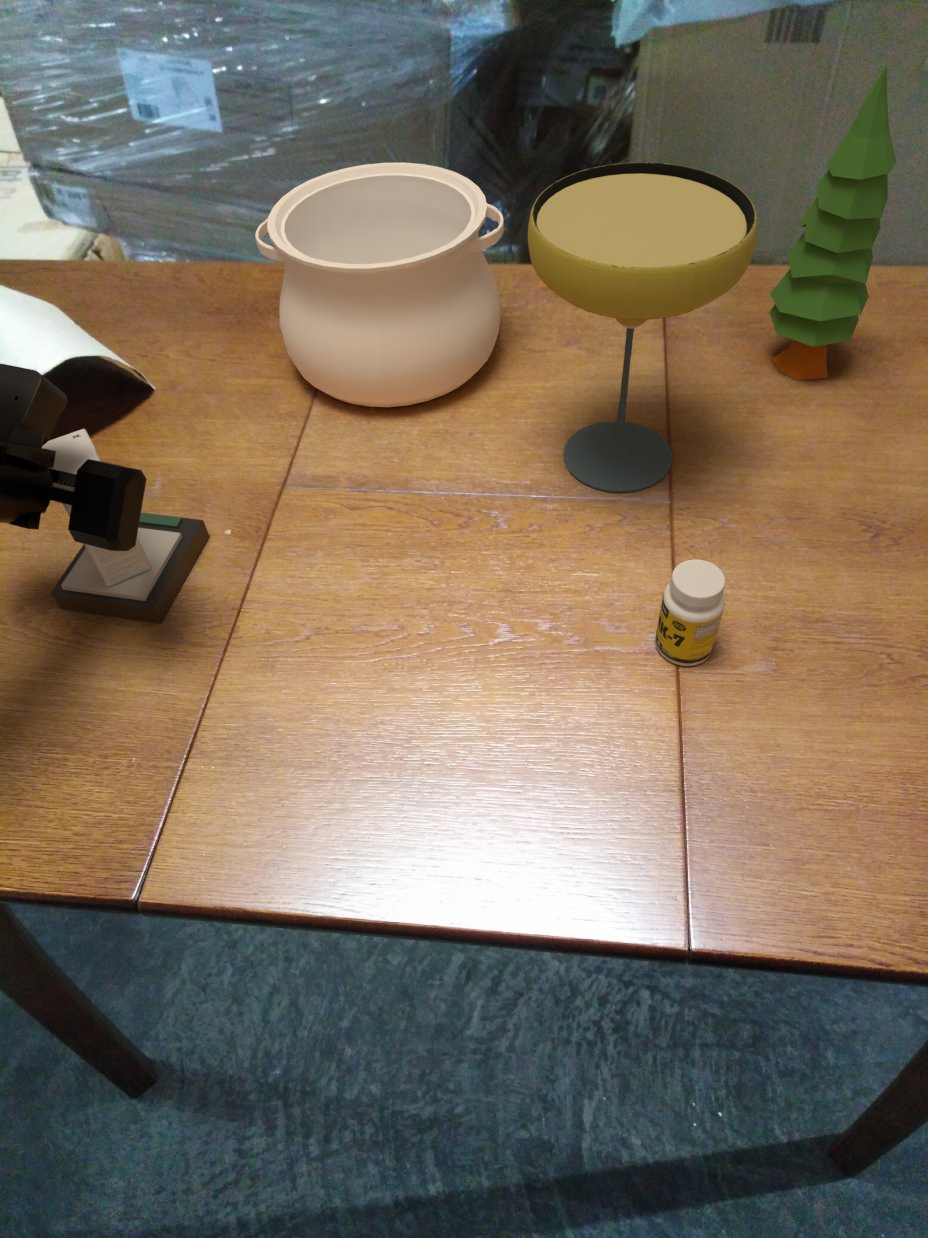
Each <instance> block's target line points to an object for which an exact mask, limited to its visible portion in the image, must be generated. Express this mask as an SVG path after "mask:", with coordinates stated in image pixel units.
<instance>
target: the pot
mask: <svg viewBox="0 0 928 1238" xmlns="http://www.w3.org/2000/svg"><path fill="white" fill-rule="evenodd" d="M486 218H488V219H491V220H493V221H494V222H497V224H498V226H497V228H495V229H493V230H492V231H490V232H488V233H485V234H484V235H481V236H479V231H480V230H481V228H482V227H483V225H484V223H485V221H486ZM504 230H505V222H504V215H503V213H502V212H501V211H500V210H499V208H497V207H496V206H494V205H492V204H489V203H487V199H486V196H485V194H484V192H483V191H482V189H481V188H480V187H479V186H478V185H477V184H476V183H474V182H473V181H472V180H471V179H470V178H468V177H467V176H464V175H462V174H460V173H459V172H456V171H454V170H450V169H447V168H444V167H440V166H436V165H431V164H430V165H429V164H425V163H417V162H416V163H415V162H377V163H368V164H367V163H366V164H361V165H354V166H350V167H345V168H340V169H337V170H333V171H330V172H327V173H324V174H322V175H321V174H320V175H318V176H316V177H314V178H311V179H309V180H307V181H305V182H303V183H301V184H299V185H297V186H294V188H293V189H291V190H290V191H288V192H287V193H285V194H284V195H283V196H282V197H281V198H280V199H279V200H278V201H277V202H276V203H275V205H274V206H273V207H272V209H271V211H270V212H269V214H268V216H267V218H266V219H264V221H263V222H261V223H260V224H259V226H257V229H256V230H255V235H254V237H255V242H256V246H257V249H258V250H259V253H260V254H261V255H262V256H263V257H265V258H268V259H270V260H274V261H276V262H281V263H284V276H283V281H282V285H281V291H280V294H279V305H278V306H279V307H278V308H279V309H278V310H279V312H278V313H279V314H278V315H279V328H280V332H281V336H282V338H283V342H284V346H285V349H286V352H287V353H286V354H287V355H288V357H289V359H290V360H291V361H292V363H293V364H294V366H295V367H296V369H297V371H298V372H299V374H301V376H302V377H303V379H304V380H305V381H307V382H308V383H309V384H310V385H311V386H313V387H314V388H316V389H317V390H319V391H321V392H323V393H324V394H326V395H328V396H330V397H332V398H334V399H336V400H339V401H342V402H345V403H349V404H352V405H357V406H364V407H371V408H394V407H395V408H397V407H405V406H412V405H415V404H420V403H425V402H429V401H432V400H434V399H437V398H440V397H442V396H445V395H447V394H449V393H451V392H452V391H455V390H457V389H458V388H459V387H461V386H463V384H465V383H466V382H468V381H469V380H470V379H471V378H472V377H473V376H474V375H475V374H476V373H478V372H479V371H480V369H482V367H483V366H484V365H485V364H486V363H487V361H488V360H489V358H490V356H491V354H492V352H493V350H494V347H495V345H496V342H497V339H498V336H499V332H500V326H501V301H500V296H499V291H498V287H497V283H496V279H495V275H494V273H493V270H492V269H491V267H490V265H489V262H488V260H487V259H486V256H485V254H484V252H483V251H484V250H487V249H489V248H491V247H492V246H494V245H495V244H497V243H498V242H499V240H500V239H501V238H502V237H503V236H504ZM267 234H268V236H269V239H270V242H271V243H272V245H273V246H271V245H269V244H267V243H265V242H264V241H263V240H264V237H265V236H266V235H267Z"/></svg>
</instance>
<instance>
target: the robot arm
mask: <svg viewBox="0 0 928 1238" xmlns="http://www.w3.org/2000/svg"><path fill="white" fill-rule="evenodd" d="M67 405H68V397H67V395H66V394H65V392H63V391H62V390H61V389H59V387H57V386H56V385H55V384H53V383H52V382H51V381H50V380H49V379H48V378H47V377H45V376H44V375H43V374H41V373H40V372H39V371H37V370H36V369H31V368H26V367H22V366H17V365H11V364H6V363H0V524H8V525H11V526H16V527H18V528H19V527H20V528H23V529H26V530H27V529H28V530H39V529H40V523H41V518H42V517H41V516H42V515H45V514H46V513H47V510H48V507H49V505H50V504H51V501H53V502H55V503H59V504H62V503H64V504H68V505H72V507H71V513H70V517H69V520H68V526H67V530H68V532H69V534H70V536H71V537H72V539H73V541H74V542H76V543H79V544H82V545H83V544H87V545H91V546H95V547H99V548H103V549H107V550H110V551H129V550H130V549H132V548H133V547H134V546H135V545H136V539H137V533H138V527H139V521H140V515H141V513H142V508H143V502H144V496H145V491H146V485H147V477H146V476H145V473H144V471H143V470H142V469H139V468H134V467H129V466H125V465H121V464H117V463H112V462H106V461H102V460H101V461H97V460H91V459H87V460H86V461H85V462H84V464H83V465H82V466H81V467H80V468H79V469H78V470H77V474H73V473H69V472H64V471H60V470H56V469H52V468H53V467H54V461H55V455H56V451H54V450H49V449H45V448H42V446H43V445H45V444H46V443H47V442H48V441H50V438H51V436H52V434H53V432H54V429H55V427H56V425H57V423H58V420H59V418H60V415H61V414H62V412H64V411H65V409H66V407H67ZM53 483H57V484H62V485H66V486H70V487H75V488H74V491H73V490H69V489H65V488H61V487H57V486H53Z"/></svg>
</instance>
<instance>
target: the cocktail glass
mask: <svg viewBox="0 0 928 1238" xmlns="http://www.w3.org/2000/svg"><path fill="white" fill-rule="evenodd" d="M757 233H758V214H757V211H756V208H755V205H754V203H753V202H752V200H751V198H749V196H748V195H747V194H746V193H745V192H744V191H743V190H742V189H741V188H739V187H738V186H737V185H735V184H733V183H732V182H731V181H729V180H727V179H724V178H723V177H720V176H719V175H716V174H714V173H710V172H707V171H705V170H702V169H698V168H694V167H690V166H685V165H679V164H673V163H665V162H664V163H663V162H645V161H644V162H642V161H638V162H637V161H635V162H620V163H612V164H611V163H610V164H605V165H600V166H595V167H590V168H586V169H583V170H580V171H576V172H574V173H571V174H569V175H567V176H564V177H563V178H560V179H558V180H557V181H555V182H554V183H552V184H551V185H548V187H547V188H545V189H544V190H543V191H542V192H541V193H540V194H539V195H538V196H537V198H536V200H535V201H534V203H533V205H532V207H531V210H530V214H529V219H528V225H527V247H528V254H529V259H530V263H531V265H532V267H533V269H534V271H535V273H536V276H537V277H538V278H539V279H540V280H541V282H542V283H543V284H544V285H545V286H546V287H547V288H548V289H549V290H551V291H552V292H553V293H554V294H555V295H557V296H558V297H559V298H561V299H563V300H564V301H566V302H567V303H569V304H570V305H572V306H574V307H576V308H578V309H581V310H583V311H586V312H588V313H592V314H594V315H597V316H598V315H599V316H603V317H607V318H612V319H615V320H616V322H618V324H620V325H621V326H622V327H623V328H625V329H626V333H625V344H624V352H623V353H624V356H623V362H622V363H623V364H622V372H621V373H622V374H621V384H620V391H619V399H618V409H617V416H616V420H606V421H600V422H595V423H592V424H589V425H587V426H584V427H583V428H581V429H579V430H577V431H576V432H575V433H573V434H572V435H571V436H570V438H569V439H568V440H567V442H566V443H565V446H564V449H563V461H564V465H565V467H566V469H567V470H568V471H569V473H570V475H572V476H573V477H574V478H575V479H576V480H577V481H578V482H580V483H582V484H584V485H585V486H587V487H590V488H592V489H595V490H599V491H603V492H608V493H632V492H638V491H641V490H644V489H648V488H650V487H652V486H654V485H656V484H658V483H659V482H660V481H661V480H663V479H664V478H665V477H666V475H668V473H669V471H670V469H671V466H672V463H673V452H672V449H671V447H670V445H669V443H668V442H667V440H666V439H665V438H664V437H663V436H662V435H661V434H660V433H658V432H657V431H655V430H654V429H652V428H650V427H648V426H645V425H643V424H640V423H636V422H632V421H627V420H626V417H627V416H626V415H627V402H628V392H629V391H628V390H629V380H630V369H631V359H632V349H633V340H634V334H635V333H634V331H635V329H637V328H639V327H641V326H642V325H643V324H645V323H646V322H647V321H648V320H658V319H659V320H660V319H665V318H670V317H676V316H680V315H684V314H687V313H690V312H694V311H695V310H698V309H700V308H703V307H704V306H706V305H709V304H711V303H712V302H714V301H715V300H717V299H718V298H720V297H722V296H724V295H725V294H726V293H727V292H729V291H730V290H732V288H733V287H734V286H736V285H737V284H738V283H739V282H740V280H741V279H742V277H743V276H744V274H745V273H746V271H747V270H748V267H749V265H750V263H751V260H752V257H753V254H754V252H755V251H754V250H755V249H756V248H755V247H756V243H757Z"/></svg>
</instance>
